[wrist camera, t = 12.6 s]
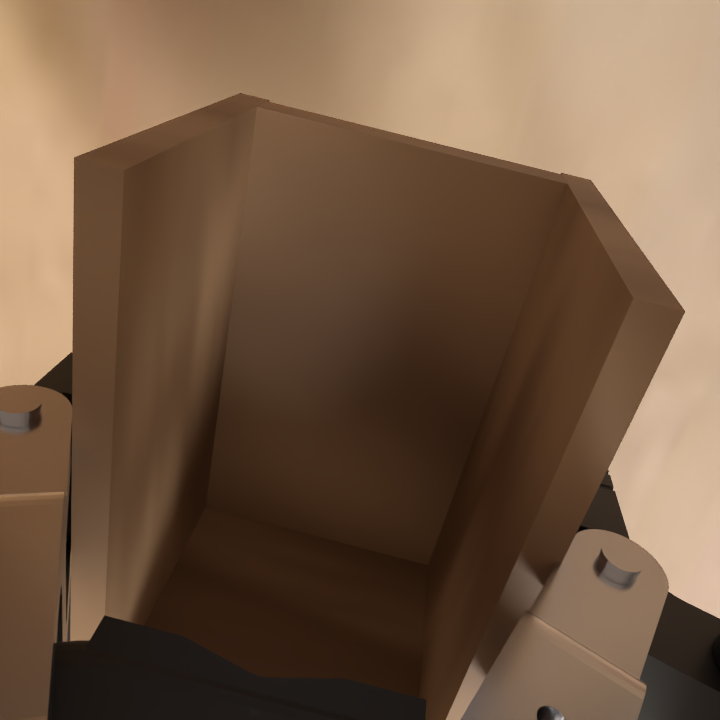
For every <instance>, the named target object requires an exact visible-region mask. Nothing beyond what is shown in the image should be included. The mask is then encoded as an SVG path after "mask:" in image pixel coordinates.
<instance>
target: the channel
mask: <svg viewBox="0 0 720 720" xmlns="http://www.w3.org/2000/svg"><path fill="white" fill-rule="evenodd" d="M684 313H685V310H684V309H683V308H682V306H681V305H680V303H679V302H678V301H677V299H676V298H675V296H674V295H673V294H672V292H671V291H670V290H669V288H668V287H667V285H666V284H665V283H664V281H663V280H662V278H661V277H660V276H659V274H658V273H657V271H656V270H655V269H654V267H653V266H652V264H651V263H650V262H649V260H648V259H647V258H646V256H645V255H644V253H643V252H642V251H641V249H640V248H639V246H638V245H637V244H636V242H635V241H634V239H633V238H632V237H631V235H630V234H629V232H628V231H627V230H626V228H625V227H624V226H623V224H622V223H621V221H620V220H619V219H618V217H617V216H616V214H615V213H614V212H613V210H612V209H611V207H610V206H609V205H608V203H607V202H606V200H605V199H604V198H603V196H602V195H601V194H600V192H599V191H598V189H597V188H596V187H595V185H594V184H593V182H592V181H591V180H588V179H584V178H580V177H576V176H572V175H568V174H564V173H561V174H557V173H553V172H549V171H545V170H541V169H537V168H533V167H529V166H525V165H521V164H517V163H513V162H509V161H505V160H501V159H497V158H493V157H489V156H485V155H481V154H477V153H473V152H469V151H464V150H460V149H456V148H452V147H448V146H444V145H440V144H436V143H432V142H428V141H424V140H420V139H416V138H412V137H408V136H404V135H400V134H396V133H392V132H388V131H384V130H380V129H376V128H372V127H368V126H364V125H360V124H356V123H352V122H348V121H344V120H340V119H336V118H332V117H328V116H324V115H320V114H316V113H311V112H307V111H303V110H299V109H295V108H291V107H287V106H283V105H279V104H275V103H271V102H269V100H266V99H262V98H258V97H254V96H250V95H246V94H242V93H240V94H237V95H235V96H232V97H229V98H227V99H224V100H222V101H219V102H217V103H214V104H211V105H209V106H206V107H204V108H201V109H198V110H196V111H193V112H191V113H188V114H185V115H183V116H180V117H178V118H175V119H173V120H170V121H167V122H165V123H162V124H160V125H157V126H154V127H152V128H149V129H147V130H144V131H142V132H139V133H136V134H134V135H131V136H129V137H126V138H123V139H121V140H118V141H116V142H113V143H111V144H108V145H105V146H103V147H100V148H98V149H95V150H92V151H90V152H87V153H85V154H82V155H80V156H77V157H74V245H73V369H72V492H71V616H70V641H78V640H90V639H91V637H92V636H93V634H94V632H95V631H96V629H97V627H98V625H99V624H100V622H101V620H102V619H103V617H104V615H105V616H109V617H113V618H117V619H120V620H124V621H128V622H132V623H136V624H139V625H143V626H147V627H151V628H155V629H158V630H162V631H166V632H170V633H174V634H178V635H181V636H184V637H186V638H188V639H189V640H191V641H193V642H195V643H197V644H199V645H201V646H202V647H204V648H206V649H208V650H210V651H212V652H213V653H215V654H217V655H219V656H221V657H223V658H224V659H226V660H228V661H230V662H232V663H234V664H235V665H237V666H239V667H241V668H243V669H245V670H246V671H248V672H250V673H252V674H255V675H258V676H261V677H282V678H329V679H349V680H353V681H357V682H360V683H364V684H368V685H372V686H376V687H380V688H383V689H387V690H391V691H395V692H399V693H402V694H406V695H410V696H414V697H418V698H421V699H425V700H426V714H425V720H461V718H462V716H463V715H464V713H465V711H466V709H467V708H468V706H469V704H470V703H471V701H472V699H473V698H474V696H475V694H476V693H477V691H478V689H479V688H480V686H481V684H482V682H483V681H484V679H485V677H486V676H487V674H488V672H489V671H490V669H491V667H492V666H493V664H494V662H495V661H496V659H497V657H498V656H499V654H500V652H501V650H502V649H503V647H504V645H505V644H506V642H507V640H508V639H509V637H510V635H511V634H512V632H513V630H514V629H515V627H516V625H517V624H518V622H519V620H520V619H521V617H522V615H523V614H524V612H525V611H526V610H528V611H529V610H530V608H531V606H532V605H533V603H534V601H535V600H536V598H537V596H538V595H539V593H540V591H541V589H542V588H543V586H544V584H545V583H546V581H547V579H548V577H549V576H550V574H551V572H552V571H553V569H554V567H555V566H556V564H557V562H560V563H562V562H563V559H564V557H565V555H566V553H567V551H568V549H569V547H570V545H571V543H572V541H573V539H574V537H575V535H576V533H577V531H578V529H579V527H580V525H581V523H582V521H583V519H584V517H585V515H586V513H587V511H588V509H589V507H590V504H591V502H592V500H593V498H594V496H595V494H596V492H597V490H598V488H599V486H600V484H601V482H602V480H603V478H604V476H605V474H606V472H607V470H608V468H609V466H610V464H611V462H612V460H613V458H614V456H615V454H616V451H617V449H618V447H619V445H620V443H621V441H622V439H623V437H624V435H625V433H626V431H627V429H628V427H629V425H630V423H631V421H632V419H633V417H634V415H635V413H636V411H637V409H638V407H639V405H640V403H641V401H642V398H643V396H644V394H645V392H646V390H647V388H648V386H649V384H650V382H651V380H652V378H653V376H654V374H655V372H656V370H657V368H658V366H659V364H660V362H661V360H662V358H663V356H664V354H665V352H666V350H667V348H668V346H669V343H670V341H671V339H672V337H673V335H674V333H675V331H676V329H677V327H678V325H679V323H680V321H681V319H682V317H683V315H684Z"/></svg>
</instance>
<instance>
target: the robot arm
mask: <svg viewBox="0 0 720 720" xmlns="http://www.w3.org/2000/svg"><path fill="white" fill-rule="evenodd" d="M72 369H73V353H72V352H71V353H70V354H69V355H68V356H67V357H65V358H64V359H63V360H62V361H61V362H60V363H59V364H58V365H56V366H55V367H54V368H53V369H52V370H51V371H50V372H48V373H47V374H46V375H45V376H44V377H43V378H42V379H41V380H39V381H38V382H37V383H36V384H35V385H13V386H5V387H1V388H0V720H425V714H426V700H425V699H421V698H418V697H414V696H410V695H406V694H402V693H399V692H395V691H391V690H387V689H383V688H380V687H376V686H372V685H368V684H364V683H360V682H357V681H353V680H349V679H329V678H282V677H261V676H258V675H255V674H252V673H250V672H248V671H246V670H245V669H243V668H241V667H239V666H237V665H235V664H234V663H232V662H230V661H228V660H226V659H224V658H223V657H221V656H219V655H217V654H215V653H213V652H212V651H210V650H208V649H206V648H204V647H202V646H201V645H199V644H197V643H195V642H193V641H191V640H189V639H188V638H186V637H184V636H181V635H178V634H174V633H170V632H166V631H162V630H158V629H155V628H151V627H147V626H143V625H139V624H136V623H132V622H128V621H124V620H120V619H117V618H113V617H109V616H105V615H104V617H103V619H102V620H101V622H100V624H99V625H98V627H97V629H96V631H95V632H94V634H93V636H92V637H91V639H90V640H78V641H67V634H68V616H69V597H70V579H71V492H72ZM608 472H609V471H608V470H607V472H606V474H605V476H604V478H603V480H602V482H601V484H600V486H599V488H598V490H597V492H596V494H595V496H594V498H593V500H592V502H591V504H590V507H589V509H588V511H587V513H586V515H585V517H584V519H583V521H582V523H581V525H580V527H579V529H578V531H577V533H576V535H575V537H574V539H573V541H572V543H571V545H570V547H569V549H568V551H567V553H566V555H565V557H564V559H563V562H562V563H560V562H557V564H556V566H555V567H554V569H553V571H552V572H551V574H550V576H549V577H548V579H547V581H546V583H545V584H544V586H543V588H542V589H541V591H540V593H539V595H538V596H537V598H536V600H535V601H534V603H533V605H532V606H531V608H530V610H529V611H528V610H526V611H525V612H524V614H523V615H522V617H521V619H520V620H519V622H518V624H517V625H516V627H515V629H514V630H513V632H512V634H511V635H510V637H509V639H508V640H507V642H506V644H505V645H504V647H503V649H502V650H501V652H500V654H499V656H498V657H497V659H496V661H495V662H494V664H493V666H492V667H491V669H490V671H489V672H488V674H487V676H486V677H485V679H484V681H483V682H482V684H481V686H480V688H479V689H478V691H477V693H476V694H475V696H474V698H473V699H472V701H471V703H470V704H469V706H468V708H467V709H466V711H465V713H464V715H463V716H462V718H461V720H720V619H719V618H717V617H715V616H713V615H711V614H709V613H707V612H705V611H703V610H701V609H699V608H697V607H695V606H693V605H690V604H688V603H686V602H685V601H683V600H681V599H679V598H677V597H676V596H674V595H673V594H671V593H669V592H668V589H669V585H668V579H667V576H666V574H665V572H664V570H663V568H662V567H661V566H660V564H659V563H658V562H657V561H656V559H655V558H654V557H653V556H652V555H651V554H650V553H648V552H647V551H646V550H645V549H644V548H642V547H641V546H639V545H638V544H637V543H635V542H633V541H632V540H630V539H629V536H628V533H627V529H626V526H625V523H624V520H623V516H622V513H621V510H620V507H619V503H618V500H617V497H616V494H615V491H613V484H612V480H611V477H610V475H608Z"/></svg>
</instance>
